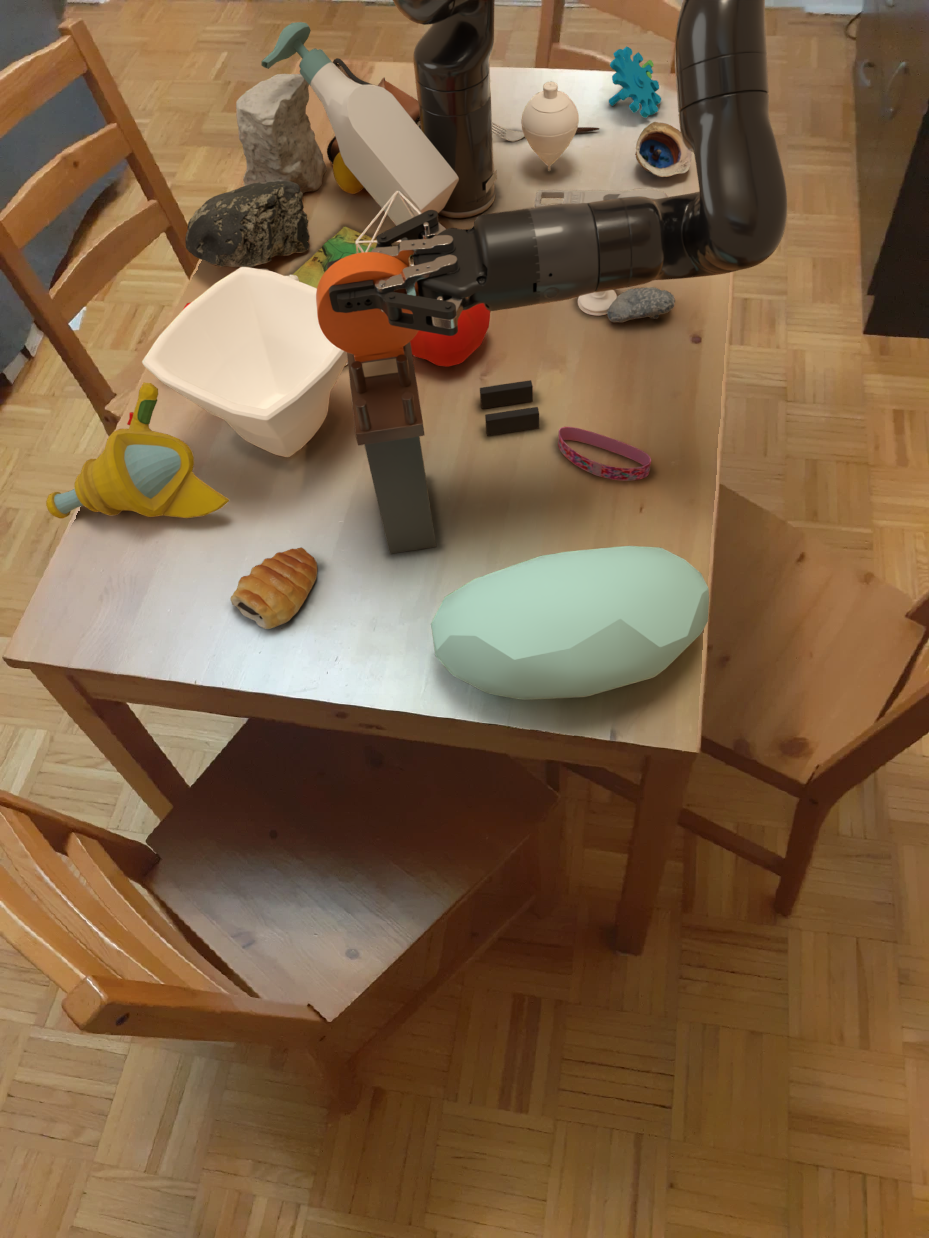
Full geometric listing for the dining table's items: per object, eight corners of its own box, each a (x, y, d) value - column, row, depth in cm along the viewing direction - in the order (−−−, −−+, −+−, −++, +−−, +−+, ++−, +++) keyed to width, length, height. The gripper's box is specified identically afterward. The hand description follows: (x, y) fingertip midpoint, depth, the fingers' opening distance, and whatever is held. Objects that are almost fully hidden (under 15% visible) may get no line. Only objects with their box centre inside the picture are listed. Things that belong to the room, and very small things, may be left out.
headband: (548, 459, 103) (548, 445, 102) (562, 435, 105) (563, 421, 103) (640, 491, 100) (642, 477, 98) (653, 466, 102) (655, 452, 100)
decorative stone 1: (284, 155, 136) (260, 52, 123) (336, 172, 133) (317, 69, 121) (242, 195, 132) (213, 94, 119) (295, 214, 129) (271, 111, 116)
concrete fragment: (239, 193, 130) (192, 285, 128) (206, 139, 120) (155, 238, 118) (329, 219, 126) (283, 314, 124) (303, 166, 116) (252, 268, 114)
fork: (599, 137, 134) (600, 124, 132) (489, 143, 135) (488, 130, 133) (598, 127, 135) (599, 113, 133) (489, 133, 136) (488, 119, 134)
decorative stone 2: (675, 766, 88) (766, 633, 78) (423, 725, 82) (487, 573, 72) (640, 665, 99) (716, 536, 89) (416, 621, 93) (471, 477, 83)
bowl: (302, 518, 101) (271, 430, 89) (169, 452, 107) (124, 362, 95) (397, 406, 109) (381, 312, 97) (269, 351, 115) (238, 255, 103)
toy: (-10, 440, 96) (53, 573, 100) (149, 371, 91) (211, 513, 94) (47, 431, 106) (103, 553, 109) (194, 368, 101) (249, 498, 104)
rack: (412, 353, 88) (406, 316, 84) (424, 436, 82) (419, 399, 79) (349, 362, 88) (340, 325, 84) (357, 445, 82) (349, 410, 79)
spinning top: (586, 163, 131) (590, 77, 120) (559, 193, 128) (561, 107, 117) (539, 148, 133) (539, 63, 123) (511, 178, 130) (509, 92, 120)
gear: (647, 123, 132) (607, 58, 128) (616, 146, 136) (577, 84, 133) (675, 93, 138) (638, 31, 134) (645, 116, 142) (608, 56, 139)
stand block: (426, 481, 103) (407, 359, 88) (436, 547, 98) (418, 430, 83) (381, 488, 103) (355, 367, 87) (389, 554, 98) (362, 438, 83)
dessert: (637, 115, 125) (624, 160, 130) (645, 136, 121) (631, 181, 125) (693, 126, 127) (678, 169, 131) (703, 147, 122) (687, 191, 127)
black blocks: (531, 395, 109) (531, 379, 106) (539, 428, 106) (539, 413, 104) (480, 403, 108) (479, 387, 106) (487, 436, 106) (486, 420, 104)
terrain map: (344, 225, 126) (344, 227, 127) (288, 276, 122) (289, 279, 122) (413, 253, 123) (413, 256, 123) (358, 307, 118) (359, 310, 118)
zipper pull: (538, 200, 127) (538, 171, 123) (671, 204, 125) (676, 175, 121) (532, 238, 123) (532, 209, 120) (670, 242, 121) (674, 213, 117)
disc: (426, 333, 84) (414, 244, 76) (429, 352, 83) (417, 263, 75) (328, 348, 84) (305, 260, 76) (329, 367, 82) (307, 279, 74)
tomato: (388, 314, 117) (379, 257, 110) (486, 303, 117) (483, 245, 110) (393, 387, 110) (383, 331, 103) (497, 375, 110) (495, 318, 103)
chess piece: (614, 317, 114) (621, 248, 106) (574, 314, 115) (578, 245, 107) (619, 290, 117) (626, 220, 108) (580, 287, 118) (584, 217, 109)
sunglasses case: (380, 173, 131) (352, 130, 127) (347, 188, 136) (318, 147, 132) (432, 103, 139) (407, 60, 135) (398, 120, 144) (373, 79, 140)
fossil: (603, 312, 116) (613, 339, 113) (601, 290, 113) (611, 318, 110) (669, 295, 115) (680, 322, 113) (669, 272, 112) (680, 300, 110)
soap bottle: (398, 248, 125) (254, 77, 119) (443, 209, 126) (302, 37, 120) (411, 221, 114) (254, 31, 109) (459, 178, 115) (306, -13, 109)
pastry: (287, 546, 100) (279, 525, 96) (336, 574, 97) (329, 554, 94) (228, 609, 96) (218, 589, 93) (277, 640, 94) (268, 621, 90)
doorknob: (391, 201, 127) (400, 177, 132) (369, 143, 122) (379, 119, 127) (342, 216, 129) (352, 191, 135) (318, 159, 124) (329, 136, 129)
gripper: (520, 165, 77) (315, 195, 77) (552, 273, 70) (325, 307, 70) (522, 242, 84) (332, 271, 84) (550, 349, 77) (343, 380, 76)
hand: (330, 287), depth 77 cm, fingers closed on disc, 2 cm apart
